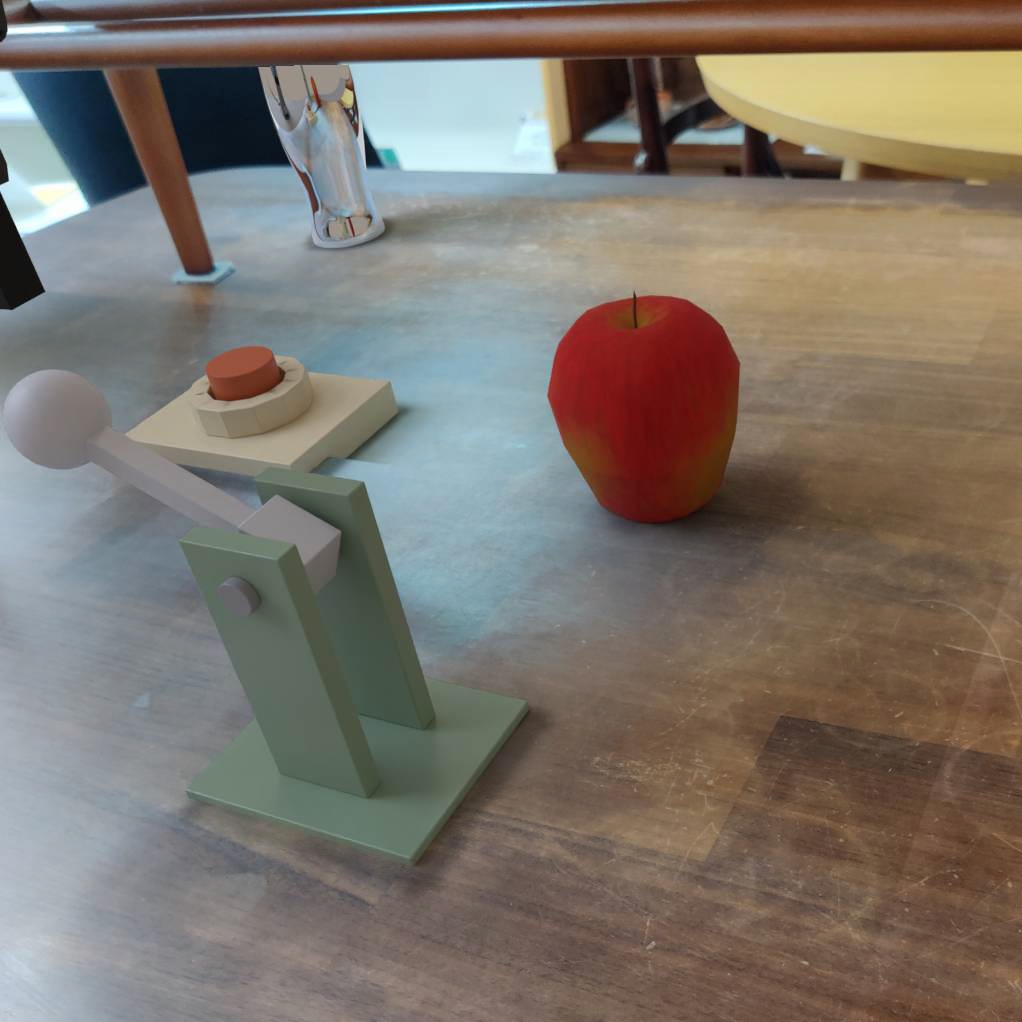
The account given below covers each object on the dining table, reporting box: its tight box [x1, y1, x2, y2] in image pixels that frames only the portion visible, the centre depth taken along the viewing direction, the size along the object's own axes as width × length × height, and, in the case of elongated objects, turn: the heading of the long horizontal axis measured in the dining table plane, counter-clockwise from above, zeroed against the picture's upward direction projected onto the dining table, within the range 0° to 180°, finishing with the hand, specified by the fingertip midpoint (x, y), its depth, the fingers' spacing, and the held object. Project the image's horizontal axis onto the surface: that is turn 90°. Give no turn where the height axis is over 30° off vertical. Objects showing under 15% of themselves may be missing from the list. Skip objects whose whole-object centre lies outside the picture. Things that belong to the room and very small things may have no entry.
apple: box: [546, 290, 741, 523], centre depth 59 cm, size 9×9×12 cm
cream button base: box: [123, 354, 399, 478], centre depth 72 cm, size 13×10×4 cm
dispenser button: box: [204, 345, 282, 402], centre depth 71 cm, size 4×4×2 cm
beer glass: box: [257, 64, 386, 249], centre depth 96 cm, size 7×7×15 cm
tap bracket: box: [178, 467, 530, 867], centre depth 46 cm, size 11×9×13 cm
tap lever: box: [2, 369, 341, 596], centre depth 43 cm, size 13×4×4 cm, turn 65°
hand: (0, 297), depth 41 cm, fingers closed
